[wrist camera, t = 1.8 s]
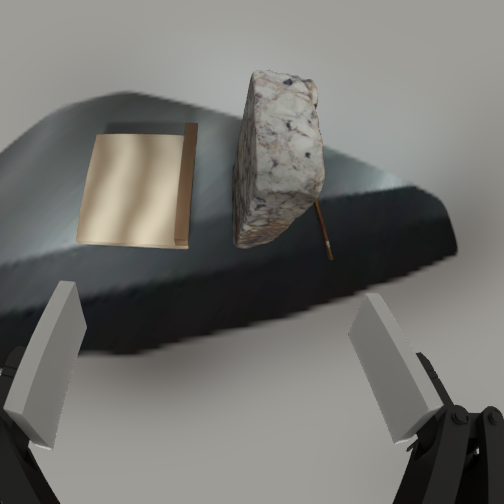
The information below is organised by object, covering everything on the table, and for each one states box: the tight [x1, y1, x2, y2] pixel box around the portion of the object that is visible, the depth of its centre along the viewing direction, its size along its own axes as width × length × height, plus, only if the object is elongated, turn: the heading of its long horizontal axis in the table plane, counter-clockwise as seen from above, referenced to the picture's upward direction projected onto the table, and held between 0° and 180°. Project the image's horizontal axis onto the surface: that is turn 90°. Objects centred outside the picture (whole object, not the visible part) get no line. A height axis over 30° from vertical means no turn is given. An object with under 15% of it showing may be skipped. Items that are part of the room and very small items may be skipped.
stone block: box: [232, 70, 325, 249], centre depth 35 cm, size 13×7×20 cm, turn 6°
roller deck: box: [76, 123, 198, 250], centre depth 38 cm, size 14×15×8 cm
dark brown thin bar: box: [314, 198, 333, 260], centre depth 46 cm, size 15×1×1 cm, turn 12°
